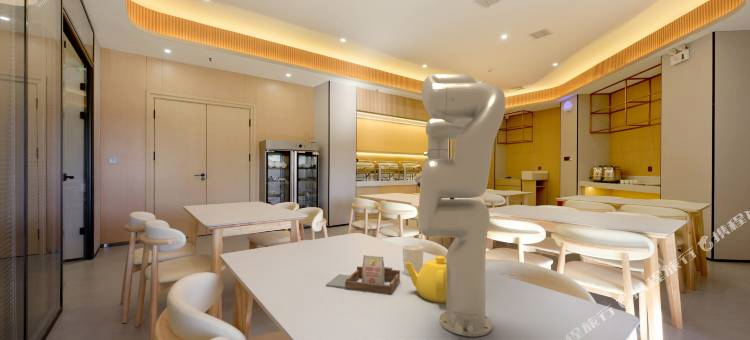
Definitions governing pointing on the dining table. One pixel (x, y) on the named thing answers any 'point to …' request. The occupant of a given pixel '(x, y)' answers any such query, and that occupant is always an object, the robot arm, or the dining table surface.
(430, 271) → the teapot
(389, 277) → the brown wooden tray
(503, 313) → the dining table surface
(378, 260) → the tea bag
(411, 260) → the white cup
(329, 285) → the rubber pad
